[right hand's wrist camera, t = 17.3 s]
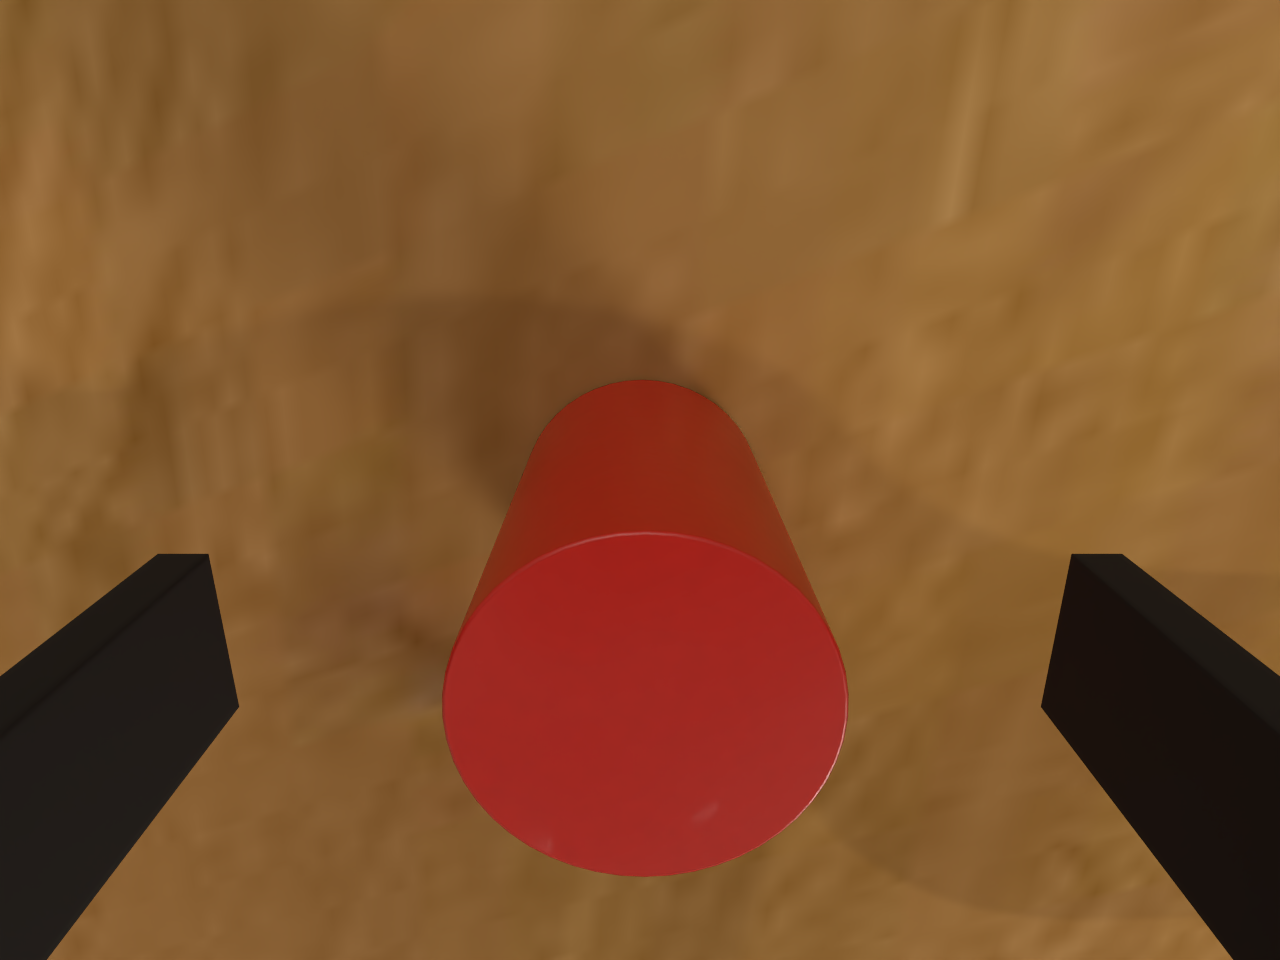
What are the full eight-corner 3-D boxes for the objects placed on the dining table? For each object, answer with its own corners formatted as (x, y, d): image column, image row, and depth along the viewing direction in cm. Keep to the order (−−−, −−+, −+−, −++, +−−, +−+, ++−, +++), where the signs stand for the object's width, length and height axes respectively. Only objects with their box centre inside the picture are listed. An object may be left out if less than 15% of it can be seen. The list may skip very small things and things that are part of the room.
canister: (681, 634, 21) (710, 931, 12) (484, 533, 20) (374, 780, 11) (804, 453, 19) (932, 654, 11) (596, 333, 18) (563, 453, 10)
